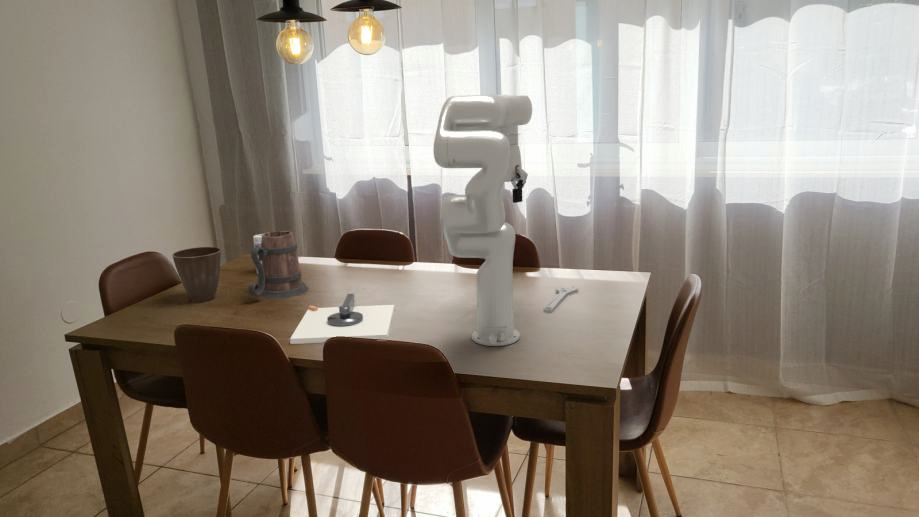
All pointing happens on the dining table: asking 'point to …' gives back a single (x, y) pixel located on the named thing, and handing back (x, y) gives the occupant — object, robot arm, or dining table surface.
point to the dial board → (319, 330)
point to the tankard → (277, 267)
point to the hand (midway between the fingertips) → (506, 200)
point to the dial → (346, 313)
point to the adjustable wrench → (559, 298)
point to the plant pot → (199, 271)
